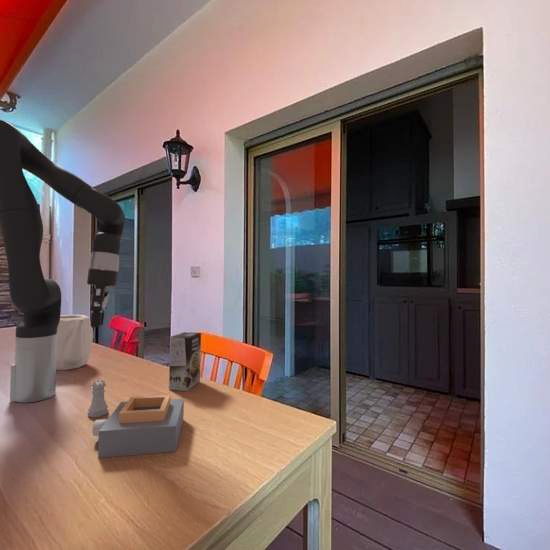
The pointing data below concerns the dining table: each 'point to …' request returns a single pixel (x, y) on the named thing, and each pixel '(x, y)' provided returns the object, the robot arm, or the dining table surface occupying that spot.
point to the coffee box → (184, 361)
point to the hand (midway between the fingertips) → (96, 326)
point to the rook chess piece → (98, 400)
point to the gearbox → (141, 427)
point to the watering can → (73, 341)
